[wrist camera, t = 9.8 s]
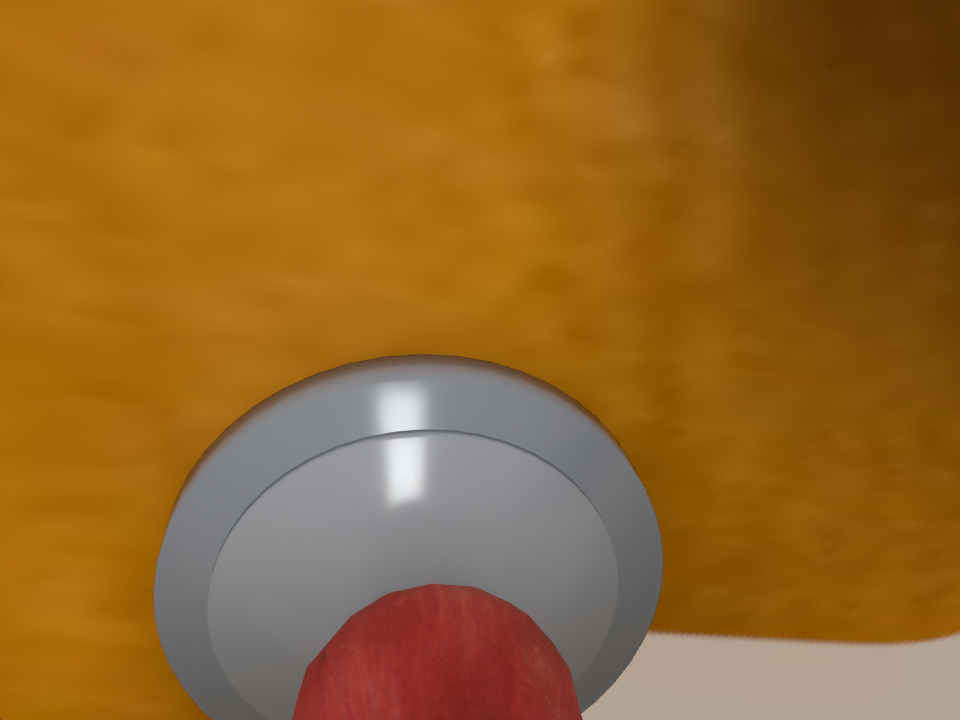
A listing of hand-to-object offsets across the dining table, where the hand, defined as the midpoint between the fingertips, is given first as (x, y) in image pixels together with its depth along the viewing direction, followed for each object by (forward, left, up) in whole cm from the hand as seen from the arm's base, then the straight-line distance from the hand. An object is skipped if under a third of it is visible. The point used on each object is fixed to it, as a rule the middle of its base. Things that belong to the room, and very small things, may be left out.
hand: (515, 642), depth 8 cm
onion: (+1, +9, -11) cm, 14 cm away
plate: (+1, +9, -12) cm, 15 cm away
